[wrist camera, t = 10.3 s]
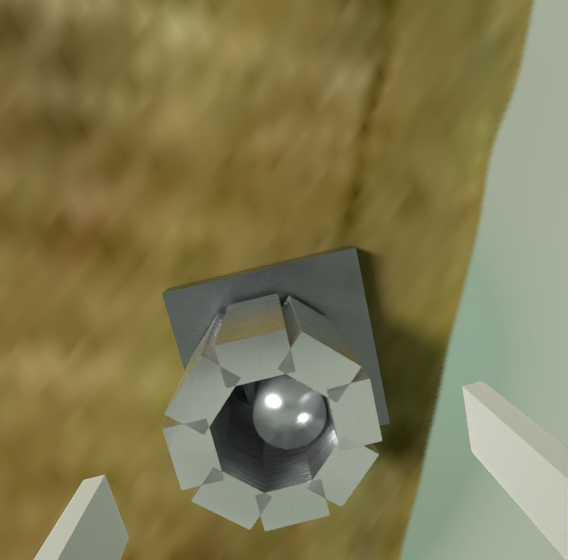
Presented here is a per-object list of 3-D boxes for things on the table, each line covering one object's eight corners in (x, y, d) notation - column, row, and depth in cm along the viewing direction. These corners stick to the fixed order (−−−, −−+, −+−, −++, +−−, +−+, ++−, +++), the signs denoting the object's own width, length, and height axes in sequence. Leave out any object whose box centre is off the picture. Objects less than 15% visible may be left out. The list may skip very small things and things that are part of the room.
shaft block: (168, 288, 24) (124, 324, 16) (350, 245, 24) (392, 260, 17) (216, 452, 26) (197, 554, 19) (383, 411, 27) (434, 494, 19)
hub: (178, 317, 22) (141, 363, 15) (327, 281, 22) (356, 311, 16) (217, 451, 24) (199, 547, 17) (355, 417, 24) (394, 499, 17)
